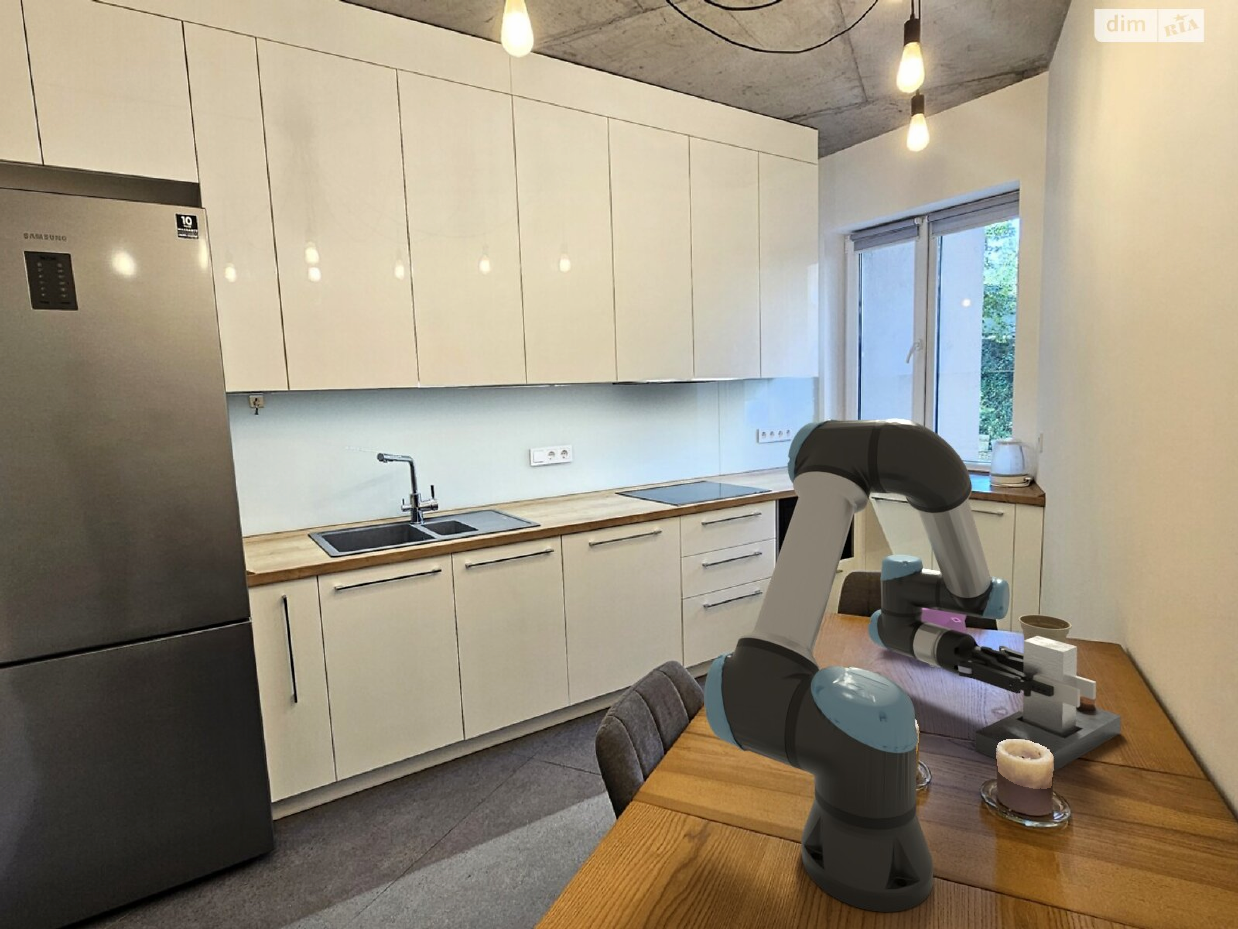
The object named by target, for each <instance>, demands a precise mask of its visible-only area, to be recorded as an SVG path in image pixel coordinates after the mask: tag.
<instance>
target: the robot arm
mask: <svg viewBox="0 0 1238 929" xmlns="http://www.w3.org/2000/svg"><path fill="white" fill-rule="evenodd" d="M787 454H788V455H787V457H788V458H789V461H788V462H787V474H788V478H789V480H790V481H791V483H792V487H793V490H794V493H795V494H796V496H797V497H798V498H797V501H796V504H795V507H794V510H793V512H792V513H793V514H792V516H791V519H790V522H789V525H788V528H787V530H786V533H785V537H784V540H783V541H782V545H781V547H780V548H781V549H780V551H779V554H778V556H777V560H776V563H775V566H774V569H773V571H772V575H771V578H770V580H769V583H768V586H767V589H766V592H765V594H764V598H763V600H762V605H761V607H760V610H759V612H758V616H757V619H756V621H755V624H754V627H753V630H752V631H751V632H749V633H746V634H744V635H741V636H739V638H738V639H737V640H738V641H737V643H736V647H735V649H734V651H733V652H732V653H731V652H727V653H726V652H724V653H721V654H719V655H718V656H717V658H715V659H714V660H713V661H712V663H711V665H710V667H709V670H708V672H707V675H706V677H705V678H706V679H705V684H704V691H703V692H704V693H703V694H704V695H703V696H704V697H703V698H704V700H703V702H704V703H703V704H704V709H705V716H706V720H707V722H708V725H709V727H710V729H711V731H712V732H713V734H714V735H715V737H718V738H719V739H720V740H721V741H723V742H726V743H727V744H730V745H731V746H732V745H733V746H735V747H736V748H738V749H739V750H741V751H743V752H752V753H754V754H757V755H759V756H762V757H764V758H768V759H770V760H772V761H775V762H779V763H781V764H784V765H787V766H789V767H792V768H795V769H798V770H800V771H804V772H806V773H809V774H811V775H812V776H814V799H813V802H812V805H811V806H810V810H809V813H808V816H807V819H806V822H805V824H804V828H803V831H802V834H801V843H800V844H801V862H802V865H803V867H804V870H805V872H806V873H807V875H808V876H809V878H810V879H811V880H812V881H813V882H814V884H816V886H818V887H819V888H820V889H821V890H823V891H824V892H825V893H826V894H827V895H830V896H831V897H833V898H835V899H836V900H839V901H840V902H842V903H844V904H847V905H849V906H852V907H856V908H859V909H863V910H867V911H873V912H885V913H886V912H887V913H888V912H890V913H891V912H901V911H905V910H909V909H911V908H914V907H916V906H918V905H920V904H921V903H923V902H925V901H926V899H927V898H928V897H929V895H930V894H931V893H932V889H933V885H934V865H933V858H932V857H933V856H932V855H931V852H930V849H929V845H928V844H927V839H926V837H925V835H924V831H923V828H922V825H921V823H920V821H919V817H918V815H917V745H918V741H919V740H918V735H919V734H918V729H917V728H916V727H917V726H916V716H915V714H916V712H915V707H914V703H913V701H912V700H911V697H910V696H909V695H908V693H906V692H905V691H904V689H903V688H902V687H901V686H899V684H897V683H896V682H894V681H893V680H891V679H889V678H888V677H886V676H885V675H881V674H880V673H876V672H874V671H871V670H868V669H864V668H860V667H855V666H847V667H843V666H841V665H833V666H826V667H824V668H822V669H821V668H820V666H819V663H818V662H817V659H816V657H814V649H815V647H816V643H817V640H818V635H819V632H820V629H821V626H822V622H823V618H824V616H825V612H826V608H827V606H828V602H829V599H830V595H831V591H832V588H833V585H834V582H835V578H836V574H837V571H838V569H839V568H838V567H839V564H840V562H841V557H842V554H843V551H844V547H845V544H846V541H847V537H848V534H849V531H850V527H851V523H852V521H853V516H854V515H855V514H858V513H860V512H862V511H864V510H865V509H866V507H867V506H868V503H869V499H870V497H871V496H870V495H871V494H886V495H887V494H889V495H890V494H897V495H900V496H904V497H905V499H906V502H907V503H908V505H909V506H910V507H911V508H913V509H914V510H916V511H917V512H918V514H919V518H920V520H921V522H922V525H923V529H924V530H925V533H926V535H927V536H926V537H927V538H928V541H929V544H930V546H931V549H932V551H933V555H934V558H935V561H936V563H937V566H938V568H939V570H935V569H927V568H924V564H923V560H922V559H921V558H919V557H918V556H913V555H910V554H892V555H888V556H885V557H883V559H882V561H881V568H880V569H881V571H880V578H879V580H880V596H881V599H880V601H881V606H880V607H881V608H880V609H877V610H876V611H874V612H873V613H872V615H871V616H870V619H869V620H870V622H869V623H868V625H867V633H868V636H869V639H870V640H871V641H872V642H873V643H874V644H876V645H877V646H880V647H882V648H884V649H886V650H888V651H890V652H893V653H897V654H901V655H903V656H906V657H909V658H912V659H915V660H917V661H920V662H924V663H927V664H928V665H929V666H930V667H933V668H935V667H937V668H941V669H943V670H945V671H947V672H951V673H953V674H956V675H958V676H959V677H962V678H963V677H964V678H969V679H973V680H976V681H979V682H982V683H984V684H987V685H991V686H994V687H996V688H999V689H1003V690H1005V691H1007V692H1008V691H1009V692H1011V693H1014V694H1021V691H1024V696H1027V697H1030V696H1031V691H1033V692H1034V693H1037V694H1040V695H1043V696H1046V697H1049V698H1051V699H1054V700H1057V701H1060V702H1063V703H1066V704H1069V705H1072V706H1075V707H1079V706H1080V695H1081V696H1084V697H1087V698H1090V699H1095V698H1096V699H1097V696H1096V695H1097V681H1094V680H1092V679H1088V678H1084V677H1082V676H1079V675H1077V678H1076V688H1075V687H1072V686H1069V685H1065V684H1062V683H1059V682H1056V681H1053V680H1050V679H1047V678H1044V677H1041V676H1037V675H1034V676H1033V679H1031V676H1029V675H1027V674H1025V673H1023V663H1024V652H1020V651H1017V650H1013V649H1012V648H1010V647H1007V646H1005V645H999V647H998V650H996V649H993V648H992V647H990V646H989V647H988V646H986V645H985V646H983V645H982V646H980V645H979V644H978V643H977V641H976V639H975V638H974V637H973V636H972V635H971V634H969V633H967V632H966V633H963V632H959V631H956V630H951V629H949V628H947V627H943V626H940V625H936V624H933V623H929V622H925V621H923V620H922V608H926V609H932V610H939V611H945V612H951V613H957V614H963V615H967V616H969V617H975V618H979V619H991V620H1004V618H1005V617H1006V616H1007V614H1008V613H1009V612H1008V611H1009V608H1010V586H1009V582H1008V581H1007V580H1005V579H1004V578H998V577H995V576H991V575H990V574H991V573H990V572H989V571H990V570H989V567H988V564H987V560H986V556H985V554H984V551H983V545H982V543H981V539H980V536H979V532H978V529H977V525H976V521H975V518H974V514H973V511H972V507H971V503H970V501H969V498H970V497H971V495H972V492H973V491H972V490H973V484H972V481H971V476H970V473H969V471H968V468H967V466H966V465H965V463H964V460H963V459H962V458H961V456H960V455H959V454H958V452H957V451H956V450H955V449H954V447H953V446H951V444H950V443H949V442H948V441H946V439H944V438H943V437H942V436H940V435H939V434H938V433H937V432H935V431H933V430H932V429H930V428H929V427H926V426H925V425H922V424H920V423H918V422H915V421H913V420H909V419H903V418H888V419H880V418H879V419H847V420H846V419H845V420H840V419H833V418H832V419H831V418H829V419H825V420H820V421H819V420H818V421H812V422H808V423H806V424H805V425H803V426H802V427H800V429H799V430H798V431H797V432H796V434H795V436H794V437H793V439H792V441H791V443H790V447H789V449H788V453H787Z"/></svg>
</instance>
